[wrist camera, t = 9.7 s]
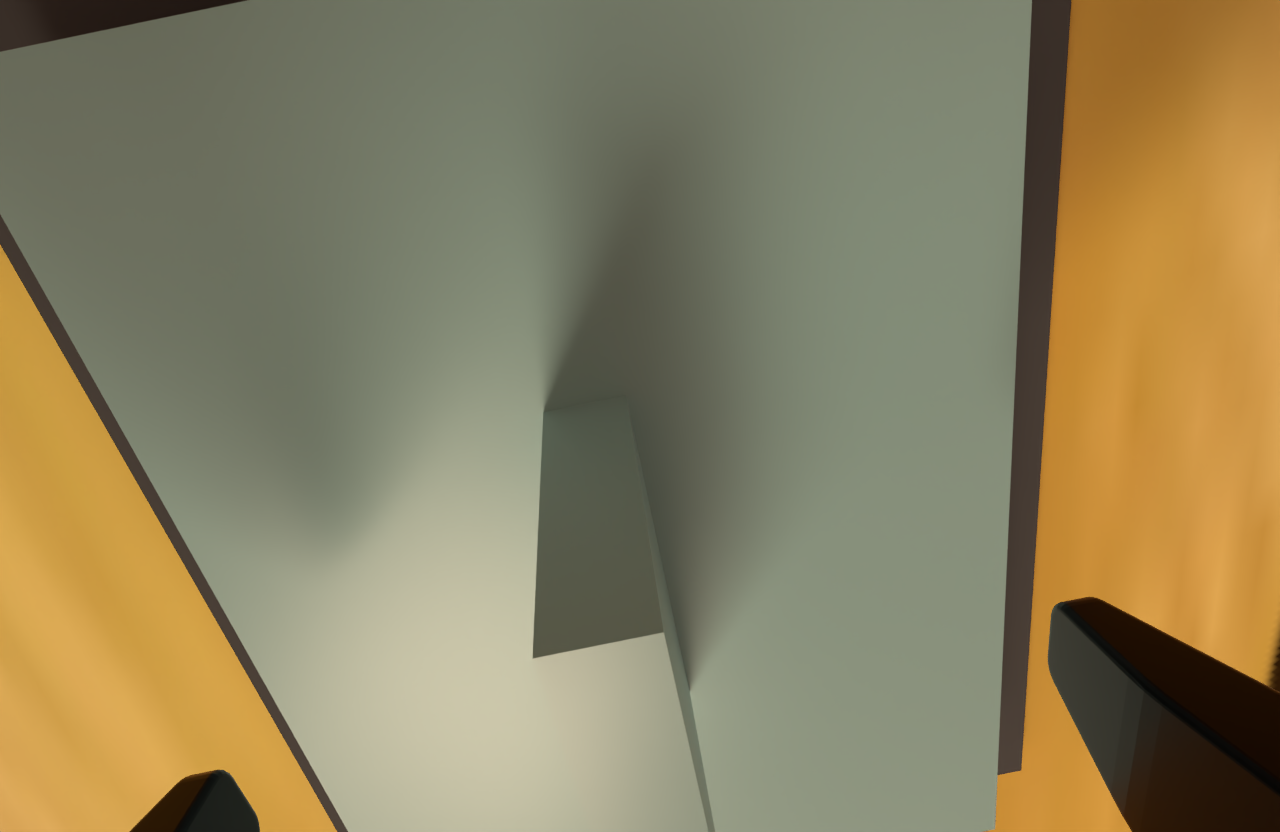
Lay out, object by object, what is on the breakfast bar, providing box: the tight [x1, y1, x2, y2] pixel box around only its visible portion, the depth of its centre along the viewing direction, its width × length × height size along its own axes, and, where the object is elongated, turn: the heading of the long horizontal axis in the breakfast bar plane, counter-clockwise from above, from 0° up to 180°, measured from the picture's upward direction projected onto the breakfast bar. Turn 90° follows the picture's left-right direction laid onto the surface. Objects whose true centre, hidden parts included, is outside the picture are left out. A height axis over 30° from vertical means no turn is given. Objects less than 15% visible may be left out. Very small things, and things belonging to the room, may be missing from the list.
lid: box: [0, 0, 1032, 832], centre depth 10 cm, size 14×10×6 cm
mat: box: [0, 0, 1071, 832], centre depth 12 cm, size 16×13×1 cm
